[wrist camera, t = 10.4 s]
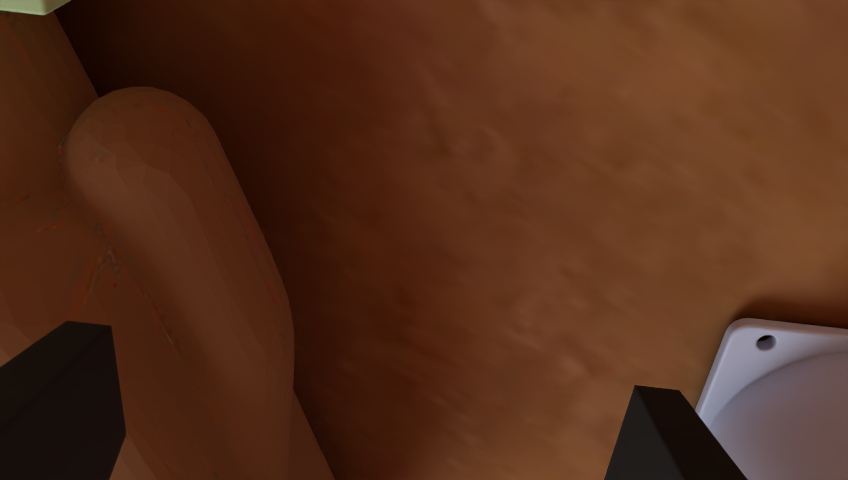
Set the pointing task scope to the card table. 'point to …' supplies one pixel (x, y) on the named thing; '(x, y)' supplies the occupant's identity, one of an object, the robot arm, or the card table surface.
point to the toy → (145, 266)
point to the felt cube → (31, 6)
